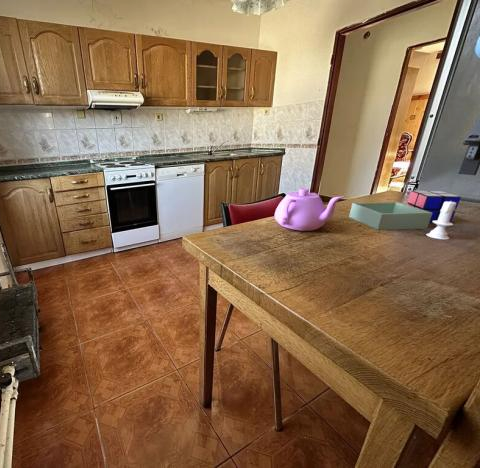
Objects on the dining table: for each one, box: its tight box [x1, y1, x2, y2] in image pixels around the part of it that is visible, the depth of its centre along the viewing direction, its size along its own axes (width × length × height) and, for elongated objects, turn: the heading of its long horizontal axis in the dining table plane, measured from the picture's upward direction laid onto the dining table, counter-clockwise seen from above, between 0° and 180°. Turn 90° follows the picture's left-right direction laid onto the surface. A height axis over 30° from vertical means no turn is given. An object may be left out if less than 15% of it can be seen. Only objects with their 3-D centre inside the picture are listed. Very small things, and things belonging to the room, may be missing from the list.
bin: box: [348, 201, 432, 231], centre depth 96 cm, size 17×15×6 cm
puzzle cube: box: [406, 190, 462, 223], centre depth 98 cm, size 10×10×10 cm
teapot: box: [274, 188, 344, 232], centre depth 92 cm, size 22×22×14 cm
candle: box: [426, 201, 456, 241], centre depth 81 cm, size 5×5×12 cm
